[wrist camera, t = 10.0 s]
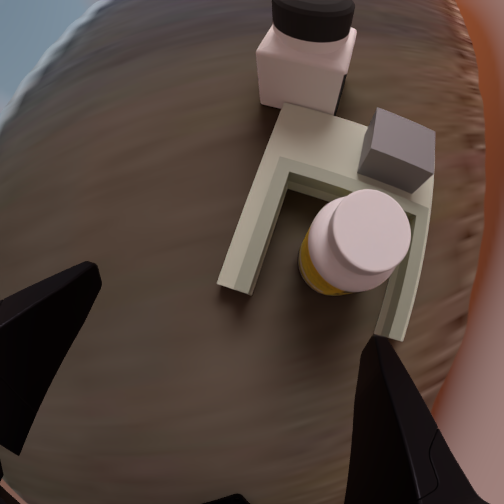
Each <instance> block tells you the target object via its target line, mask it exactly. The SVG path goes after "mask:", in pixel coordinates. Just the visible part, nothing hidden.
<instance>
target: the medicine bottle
mask: <svg viewBox="0 0 504 504" xmlns="http://www.w3.org/2000/svg"><path fill="white" fill-rule="evenodd" d="M354 9H355V4H354V2H353V1H352V0H272V15H273V25H272V26H271V28H270V30H269V31H268V33H267V34H266V36H265V37H264V39H263V41H262V42H261V44H260V45H259V47H258V49H257V50H256V60H257V70H258V81H259V92H260V102H261V104H263V105H267V106H271V107H275V108H279V109H282V106H283V104H284V102H285V103H289V104H293V105H297V106H301V107H305V108H309V109H312V110H316V111H320V112H323V113H326V114H330V115H333V116H336V112H337V109H338V105H339V101H340V98H341V94H342V90H343V87H344V83H345V79H346V75H347V71H348V67H349V63H350V59H351V55H352V51H353V47H354V43H355V39H356V34H357V31H356V30H355V29H354V28H351V24H352V19H353V14H354Z"/></svg>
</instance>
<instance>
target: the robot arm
mask: <svg viewBox="0 0 504 504" xmlns="http://www.w3.org/2000/svg"><path fill="white" fill-rule="evenodd" d="M101 286H102V281H101V277H100V273H99V269H98V266H97V265H96V264H95V263H92V262H89V261H85V262H82V263H80V264H78V265H76V266H73V267H71V268H69V269H66V270H64V271H62V272H60V273H58V274H55V275H53V276H51V277H49V278H47V279H44V280H42V281H40V282H38V283H36V284H34V285H31V286H29V287H27V288H25V289H23V290H21V291H19V292H17V293H15V294H13V295H11V296H9V297H7V298H5V299H4V300H0V445H2V446H3V447H5V448H6V449H8V450H9V451H11V452H13V453H14V454H16V455H18V456H19V455H20V453H21V450H22V448H23V445H24V443H25V440H26V438H27V435H28V433H29V430H30V428H31V426H32V423H33V421H34V419H35V416H36V414H37V412H38V409H39V407H40V405H41V403H42V401H43V399H44V397H45V395H46V392H47V390H48V388H49V386H50V384H51V382H52V380H53V378H54V376H55V375H56V373H57V371H58V369H59V367H60V365H61V363H62V361H63V359H64V357H65V356H66V354H67V352H68V350H69V348H70V347H71V345H72V343H73V341H74V340H75V338H76V336H77V334H78V333H79V331H80V329H81V327H82V326H83V324H84V322H85V320H86V318H87V316H88V314H89V312H90V309H91V307H92V305H93V303H94V301H95V299H96V297H97V295H98V293H99V291H100V289H101ZM437 428H438V426H437V424H436V422H435V421H434V419H433V417H432V415H431V413H430V411H429V409H428V407H427V405H426V404H425V402H424V400H423V398H422V396H421V395H420V393H419V391H418V389H417V388H416V386H415V384H414V382H413V381H412V379H411V377H410V375H409V374H408V372H407V370H406V368H405V367H404V365H403V363H402V362H401V360H400V358H399V357H398V355H397V353H396V352H395V350H394V348H393V347H392V345H391V344H390V342H389V340H388V339H387V338H386V337H385V336H380V335H373V336H372V337H371V338H370V340H369V341H368V343H367V345H366V346H365V348H364V349H363V351H362V354H361V358H360V366H359V373H358V381H357V387H356V394H355V401H354V417H353V432H352V444H351V455H350V464H349V473H348V481H347V488H346V495H345V501H344V504H489V503H487V502H486V501H484V500H483V499H481V498H480V497H479V496H478V495H477V493H476V492H475V491H474V489H473V487H472V486H471V484H470V482H469V481H468V479H467V477H466V476H465V474H464V472H463V471H462V469H461V468H460V466H459V464H458V463H457V461H456V459H455V457H454V456H453V454H452V453H451V451H450V449H449V447H448V445H447V443H446V441H445V439H444V437H443V436H442V434H441V432H440V430H439V429H437ZM2 477H3V470H2V466H1V461H0V481H1V479H2ZM236 498H239V499H236ZM0 504H20V503H19V502H18V501H17V500H16V499H14V498H13V497H12V496H11V495H10V494H9V493H8V492H7V491H6V490H5V489H4V488H3V487H1V486H0ZM203 504H250V503H249V502H248V501H247V500H246V499H245V498H244V497H243V496H242V495H241V494H233V495H230V496H227V497H224V498H221V499H217V500H214V501H210V502H207V503H203Z"/></svg>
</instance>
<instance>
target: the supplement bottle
mask: <svg viewBox="0 0 504 504" xmlns="http://www.w3.org/2000/svg"><path fill="white" fill-rule="evenodd" d="M410 241H411V229H410V224H409V221H408V218H407V216H406V214H405V212H404V210H403V209H402V207H401V206H400V205H399V204H398V202H397V201H395V200H394V199H393V198H392V197H390V196H389V195H387V194H385V193H383V192H380V191H378V190H372V189H363V190H358V191H355V192H353V193H351V194H349V195H348V196H345V197H341V198H338V199H335V200H333V201H331V202H330V203H328V204H327V205H326V206H324V207H323V208H322V209H321V210H320V211H319V213H318V214H317V215H316V217H315V218H314V220H313V222H312V224H311V226H310V228H309V230H308V232H307V234H306V236H305V238H304V240H303V242H302V244H301V247H300V250H299V254H298V266H299V270H300V273H301V275H302V277H303V279H304V281H305V282H306V283H307V284H308V285H309V286H310V287H311V288H312V289H313V290H315V291H316V292H318V293H321V294H324V295H328V296H340V295H345V294H351V293H358V292H363V291H367V290H370V289H373V288H375V287H377V286H379V285H380V284H382V283H383V282H384V281H385V280H387V279H388V277H389V276H390V275H391V274H392V272H393V271H394V269H395V267H396V266H397V265H398V264H399V263H400V262H401V261H402V260H403V259H404V257H405V256H406V254H407V252H408V249H409V246H410Z"/></svg>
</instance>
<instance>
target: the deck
mask: <svg viewBox="0 0 504 504" xmlns="http://www.w3.org/2000/svg"><path fill="white" fill-rule="evenodd" d="M434 166H435V131H433V130H431V129H428V128H426V127H424V126H422V125H420V124H417V123H415V122H413V121H411V120H408V119H406V118H403V117H401V116H399V115H396V114H394V113H391V112H389V111H386V110H383V109H381V108H378V107H377V109H376V111H375V113H374V116H373V118H372V120H371V122H370V124H369V126H368V127H367V126H364V125H361V124H358V123H355V122H352V121H349V120H346V119H343V118H340V117H336V116H333V115H330V114H326V113H323V112H320V111H316V110H312V109H309V108H305V107H301V106H297V105H293V104H289V103H285V102H284V104H283V106H282V109H281V111H280V114H279V116H278V119H277V122H276V124H275V127H274V129H273V132H272V134H271V137H270V140H269V142H268V145H267V147H266V150H265V153H264V155H263V158H262V161H261V163H260V166H259V168H258V171H257V174H256V176H255V179H254V182H253V185H252V187H251V190H250V193H249V195H248V198H247V201H246V203H245V206H244V209H243V212H242V214H241V217H240V220H239V223H238V225H237V228H236V231H235V234H234V236H233V239H232V242H231V245H230V247H229V250H228V253H227V256H226V259H225V262H224V264H223V267H222V270H221V273H220V276H219V279H218V281H217V284H219V285H222V286H225V287H228V288H231V289H233V290H236V291H239V292H242V293H245V294H248V295H251V296H252V294H253V291H254V288H255V285H256V282H257V279H258V276H259V273H260V270H261V267H262V264H263V261H264V258H265V255H266V252H267V249H268V246H269V243H270V240H271V237H272V234H273V231H274V228H275V225H276V222H277V219H278V216H279V213H280V210H281V207H282V204H283V201H284V198H285V195H286V192H287V189H290V190H293V191H297V192H300V193H303V194H306V195H309V196H313V197H316V198H319V199H322V200H325V201H328V202H331V201H333V200H335V199H338V198H341V197H345V196H348V195H349V194H351V193H353V192H355V191H358V190H363V189H372V190H378V191H380V192H383V193H385V194H387V195H389V196H390V197H392V198H393V199H394V200H395V201H397V202H398V204H399V205H400V206H401V207H402V209H403V210H404V212H405V214H406V216H407V218H408V221H409V224H410V229H411V241H410V246H409V249H408V252H407V254H406V256H405V257H404V259H403V260H402V261H401V262H400V263H399V264H398V265H397V266H396V267H395V269H394V271H393V272H392V274H391V275H390V277H389V281H388V285H387V289H386V293H385V296H384V300H383V304H382V307H381V311H380V314H379V318H378V321H377V324H376V327H375V331H374V334H376V335H380V336H385V337H387V338H391V339H394V340H398V341H402V342H403V339H404V336H405V333H406V329H407V326H408V322H409V319H410V315H411V312H412V308H413V304H414V300H415V296H416V292H417V287H418V283H419V278H420V274H421V269H422V264H423V259H424V253H425V247H426V241H427V235H428V228H429V221H430V213H431V204H432V194H433V182H434Z"/></svg>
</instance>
